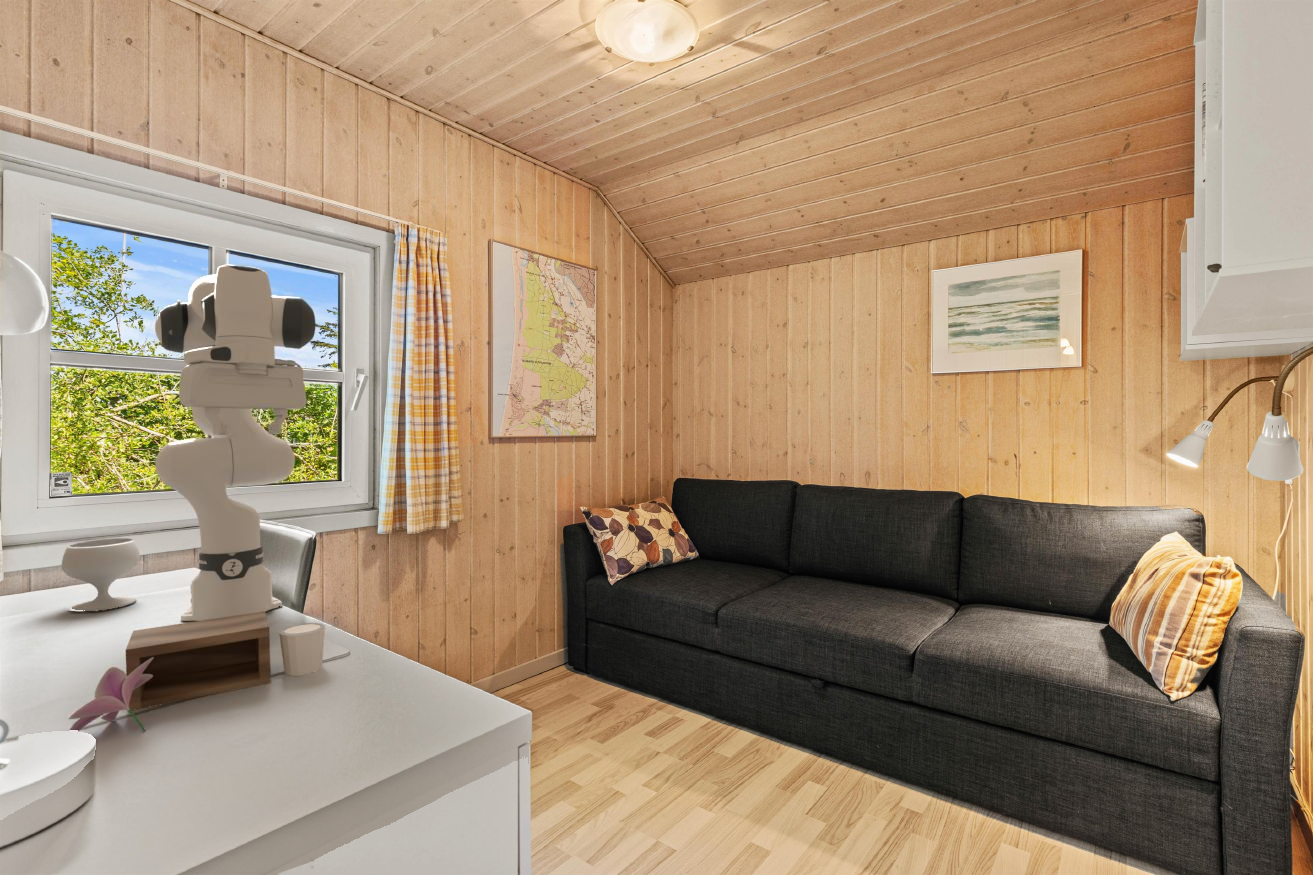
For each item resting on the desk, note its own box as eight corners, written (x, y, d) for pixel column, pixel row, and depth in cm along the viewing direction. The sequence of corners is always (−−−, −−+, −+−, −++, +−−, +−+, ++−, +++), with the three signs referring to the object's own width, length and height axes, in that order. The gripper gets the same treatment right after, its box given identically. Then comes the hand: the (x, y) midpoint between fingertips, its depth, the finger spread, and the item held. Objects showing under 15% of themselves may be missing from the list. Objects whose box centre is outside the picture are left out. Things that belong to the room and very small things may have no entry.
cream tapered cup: (306, 678, 107) (305, 635, 107) (270, 675, 109) (269, 633, 109) (335, 663, 114) (334, 622, 114) (300, 660, 115) (299, 621, 115)
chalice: (62, 606, 154) (60, 542, 154) (138, 595, 164) (136, 535, 163) (63, 618, 144) (61, 550, 144) (144, 606, 154) (142, 542, 153)
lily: (170, 711, 98) (134, 657, 97) (199, 698, 91) (159, 640, 91) (75, 772, 88) (34, 713, 87) (99, 762, 81) (55, 698, 81)
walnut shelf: (135, 686, 105) (133, 630, 105) (266, 662, 115) (264, 611, 115) (127, 711, 96) (125, 649, 96) (270, 682, 106) (269, 626, 106)
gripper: (292, 362, 127) (294, 434, 127) (172, 352, 109) (175, 435, 109) (312, 359, 124) (314, 433, 124) (192, 349, 106) (195, 434, 106)
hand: (248, 434), depth 117 cm, fingers open, 8 cm apart
